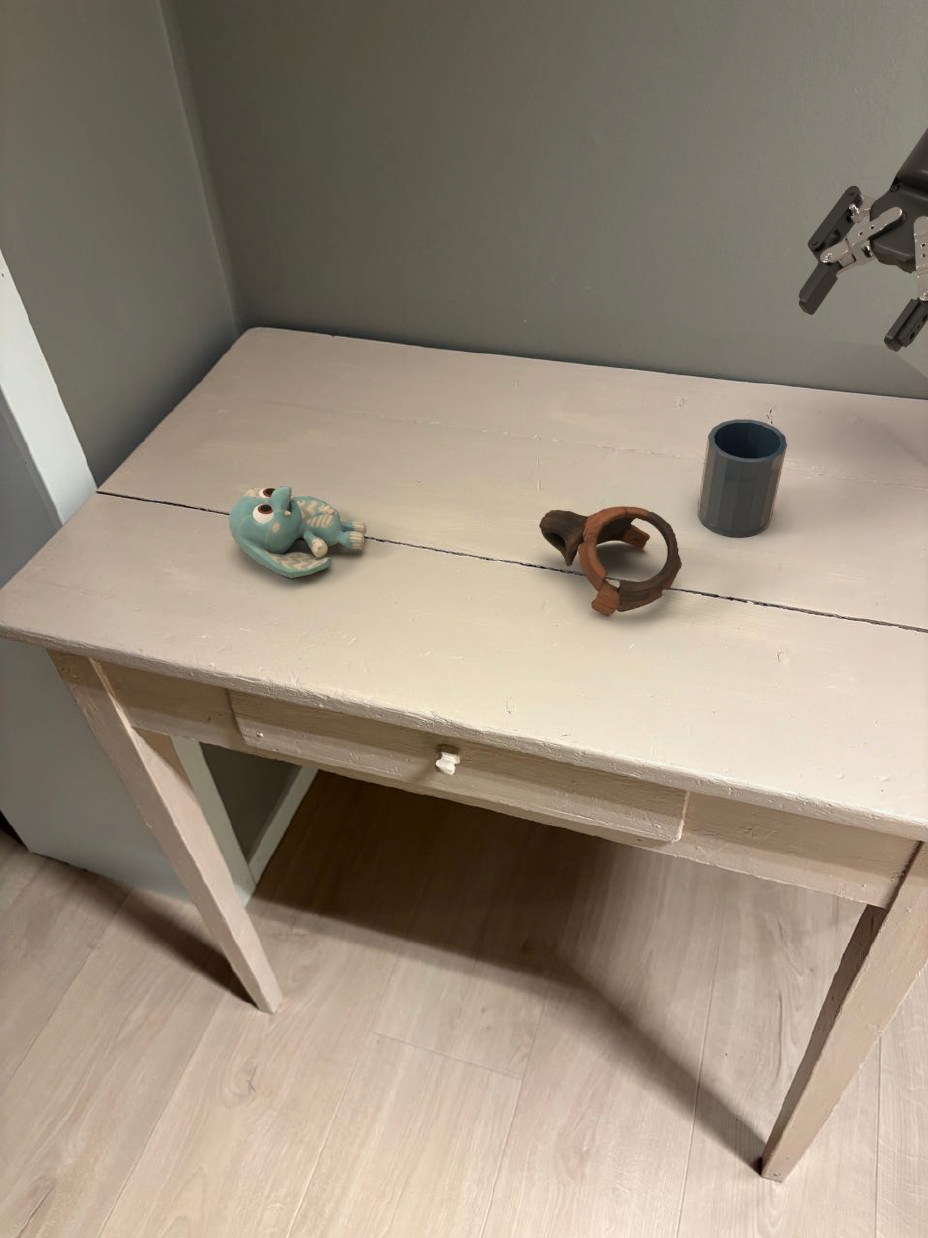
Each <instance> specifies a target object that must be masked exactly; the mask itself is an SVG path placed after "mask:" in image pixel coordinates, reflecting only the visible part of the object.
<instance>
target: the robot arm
mask: <svg viewBox="0 0 928 1238" xmlns="http://www.w3.org/2000/svg"><path fill="white" fill-rule="evenodd" d="M865 217H869V218H868V220H869V221H868V222H866V224H863V225H862V226H860V227H858V228H856V229H854V230H852V229H853V227H854V226H855V225H856V224H862V222H863V219H864V218H865ZM851 230H852V231H851ZM850 231H851V232H850ZM868 241H869V243H868V245H865V246H863V244H865V243H867V242H868ZM807 247H808V249H809V250H810V252H811V253H812V255H813V256H814V258H815V259H816V261H817V265H816V267H815V268H814V270H813V271H812V273H811V274H810V275H809V277H808V278H807V280H806V281H805V282H804V285H803V286H802V287H801V289H800V290H799V293H798V299H799V301H798V306H799V307H800V308H801V310H802V311H803V313H806V314H808V315H809V316H813V315H815V313H816V312H817V311H818V309H819V307H820V306H821V305H822V303H823V302H824V300H825V299H826V298H827V296H828V295H829V293H830V291H831V290H832V289H833V287H834V286H835V284H836V283H837V282H838V280H839V278H838V275H840V274H842V273H844V272H847V271H848V270H849V269H852V268H854V267H856V266H865V265H866V264H869V263H870V262H872V261H874V260H876V259H877V262H878V263H880V264H883V265H886V266H896V267H897V268H898V269H900V270H901V271H902V272H905V273H907V274H910V275H912V274H913V272H916V276H917V277H916V279H917V297H916V299H914V298H910V300H909V301H908V303H907V304H906V305H905V306H904V308H903V310H902V311H901V313H900V314H899V316H898V317H897V318H896V320H895V322H894V323H893V324H892V325H891V327H890V328H889V330H888V331H887V333H886V334H885V336H884V338H883V343H884V345H885V346H886V348H887V349H889V350H891V351H893V352H896V353H898V352H899V351H900V350H901V349H902V347H903V348H908V347H909V346H910V345H912V344H913V342H914V341H915V340H916V338H917V336H918V335H919V334H920V332H921V331H922V329H923V328H924V326H925V325H926V324H927V322H928V127H927V128H926V129H925V131H924V132H923V134H922V135H921V136H920V138H919V140H918V141H917V143H916V144H915V145H914V147H913V149H912V150H911V152H910V153H909V154H908V156H907V157H906V159H905V161H904V162H903V163H902V165H901V166H900V168H899V169H898V170H897V172H896V174H895V176H894V178H893V180H892V183H891V184H890V186H889V189H888V190H887V191H886V192H884V194H882V195H881V196H880V197H878V198H877V199H875V198H872V197H870V196H868V195H865V194H863V193H862V191H861V190H860V188H859V186H858V185H851V186H848V187H847V189H845V191H844V192H843V193H842V195H841V196H840V198H839V199H838V200H837V202H836V203H835V204H834V206H833V208H831V210H830V211H829V212H828V214H827V215H826V217H824V219H823V221H822V222H821V223H820V225H819V226H818V227H817V229H816V230H815V231H814V233H813V234H812V236H811V237H810V238H809V240H808V241H807Z"/></svg>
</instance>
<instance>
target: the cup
mask: <svg viewBox="0 0 928 1238" xmlns="http://www.w3.org/2000/svg"><path fill="white" fill-rule="evenodd" d="M787 448H788V443H787V439H786V436H785V435H784V433H782V431H780V429H778V428H777V427H775V426H773V425H771V424H769V423H767V422H764V421H760V420H755V419H745V418H744V419H739V418H738V419H731V420H726V421H722V422H721V423H719V424H717V425H715V426H714V427H713V428H712V429H711V430H710V432H709V433H708V435H707V441H706V447H705V455H704V462H703V468H702V474H701V482H700V488H699V494H698V501H697V517H698V519H699V521H700V523H701V524H702V525H703V526H704V527H706V529H708V530H710V531H711V532H714V533H716V534H718V535H721V536H726V537H730V538H731V537H732V538H747V537H752V536H755V535H757V534H760V533H762V532H763V531H765V530H766V529H767V528H768V526H769V525H770V523H771V519H772V516H773V513H774V509H775V503H776V500H777V499H776V498H777V494H778V489H779V485H780V480H781V476H782V470H783V467H784V462H785V457H786V452H787Z"/></svg>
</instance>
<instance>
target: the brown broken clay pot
mask: <svg viewBox="0 0 928 1238" xmlns="http://www.w3.org/2000/svg"><path fill="white" fill-rule="evenodd" d="M635 520H641V521H642V522H646V523H648V524H650V525H651V526H653V527H654V528H655V529H656V530H657V532H659V534H661V536H662V537H663V539H664V542H665V545H666V551H667V552H666V560H665V562H664V565H663V567H662V568H661V570H660V571H659V572H658V573H656V574H655V575H653V576H652V577H650V578H648V579H645V580H642V581H627V580H626V581H624V580H621V579H620V580H619V581H618V584H619V585H618V587H617V586H615V585H613V584H611V583H610V582H608V580H607V579H606V578H607V576H608V571H607V570H606V569H605V567H604V566H603V564H602V563H601V561H600V559H599V555H598V550H597V546H598V545H601V544H604V543H608V542H622V543H625V544H627V545H630V546H633V547H635V548H637V549H638V550H639V551H641V550H644V548H645V546H646V545H647V542H649V541H650V539H651V535H650V534H649V533H647V532H646V531H644V530H642V529H640V528H639V527H638V526H636V525H634V524H632V523H633V522H634V521H635ZM538 526H539V529H540V532H541V534H542V537H543V538H544V539H545V540H546V541H547V542H548V543H549V544H550V545H551V546H552V547H553V548H555V549H556V550H557V551H558V552H559V553H560V554H561V555H562V557H563V560H564V562H565V564H566V566H567V567H570V566H571V567H572V566H573V563H574V560H575V559H576V557H577V554H578V558H579V562H580V566H581V568H582V570H583V572H584V574H585V576H586V579H587V581H588V582H589V584H590V585H591V586H592V588H593V589H594V590H595V591H596V592H597V594H596V596H595V598H594V600H593V599H592V601H591V602H590V604H591V609H592V610H594V611H596V612H598V613H600V614H602V615H604V616H610V615H614V614H615V613H616V611H617V612H619V613H624V612H628V611H633V610H636V609H639V608H642V607H645V606H647V605H650V604H651V603H652V604H653V602H655V601H657V600H659V599H661V598H662V597H663V595H664V592H663V591H668V590H669V589H670V588H671V587H672V585H673V584H674V582H675V579H676V578H677V575H678V573H679V571H680V570H681V568H682V567H683V562H682V558H681V556H680V554H679V549H680V548H679V546H678V541H677V538H676V537H677V536H676V534H675V531H674V529H673V528H672V525H671V524H670V523H669V522H667V521H666V520H665V519H664V518H663V517H661V516H660V515H659V514H657V513H656V512H653V511H650V510H648V509H646V508H642V507H639V506H628V505H627V506H626V505H624V506H623V505H619V506H611V507H607V508H603V509H601V510H599V511H598V512H595V513H592V514H590V515H588V516H587V515H582V514H580V513H576V512H573V511H571V510H563V509H551V510H550V511H548V512H546V513H545V514H544V516H542V518H541V520H540V522H539V525H538Z"/></svg>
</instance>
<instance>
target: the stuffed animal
mask: <svg viewBox="0 0 928 1238" xmlns="http://www.w3.org/2000/svg"><path fill="white" fill-rule="evenodd" d="M292 491H293V489H292V487H291V486H285V485H284V486H279V487H278V488H277V487H273V486H272V487H260V488H258V487H251V488H250V489H248V490H247V491H246V493H245V494H243V496H241V498H240V499H239V500H238V501H237V502H236V503H235V504H234V506H233V507H232V509H231V511H230V512H229V515H228V527H229V530H230V534H231V537H232V538H233V541H234V542H235V544H236V546H238V548H240V549H241V550H242V551H243V552H244V554H245V553H246V555H247V556H248V557H250V558H251V559H252V560H254V561H255V562H256V563H257V564H259V565H261V566H264V567H265V568H267V569H269V570H270V571H272V572H274V573H275V574H277V575H279V576H284V577H287V578H290V579H294V578H300V577H305V576H311V575H313V574H316V573H317V572H320V571H323V570H325V569H327V568H328V567H331V564H332V559H331V558H330V557H329V556H326V555H327V553H328V550H329V547H333V546H336V545H337V544H340V545H342V546H344V547H346V548H347V549H351V550H361V549H362V548H363V547H364V545H365V539H366V538H365V535H366V534H367V529H368V528H367V524H366V523H365V521H362V520H359V519H350V520H346V521H341V515H340V512H339V510H337V509H336V508H334V507H333V506H332V505H331V504H329V503H328V502H327V501H325V500H322V499H320V498H316V497H314V496H310V495H304V496H303V495H302V496H296V495H294V494H293V492H292ZM301 538H303V540H304V541H305V543H307V546H308V547H309V549H310V551H311V553H306V552H301V551H294V552H288V550H289V549H290V548H291V547H292V546H293V545H294V543H295V542H296V541H297V540H298V539H301ZM286 552H287V553H286Z"/></svg>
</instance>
